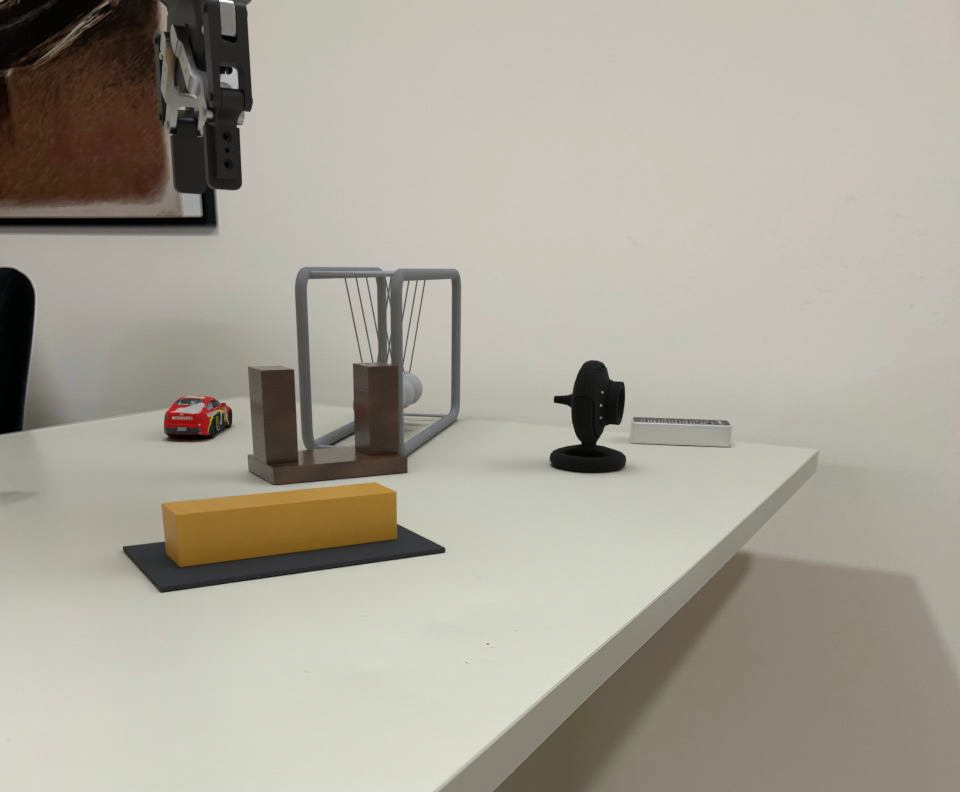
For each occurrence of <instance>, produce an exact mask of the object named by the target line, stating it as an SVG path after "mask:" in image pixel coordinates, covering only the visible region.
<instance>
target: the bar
mask: <svg viewBox="0 0 960 792" xmlns="http://www.w3.org/2000/svg"><path fill="white" fill-rule="evenodd" d="M397 498H398V496H397V491H396V490H394V489H392V488H389V487H388V486H385V485H382V484H381V483H378V482H375V481H373V482H364V483H363V482H362V483H353V484H343V485H334V486H325V487H324V486H323V487H312V488H303V489H302V488H301V489H293V490H282V491H272V492H263V493H252V494H251V493H250V494H242V495H241V494H240V495H231V496H230V495H229V496H221V497H210V498H201V499H191V500H190V499H189V500H181V501H168V502H162V503H161V506H160V507H161V515H162V525H163V535H164V542H165V546H166V554H167V555H168V556H169V557H170V558H171V559H172V560H173V561H174V562H175V563H176V564H177V565H178V566H179V567H188V566H196V565H204V564H211V563H219V562H227V561H235V560H242V559H250V558H258V557H265V556H273V555H281V554H288V553H296V552H304V551H311V550H319V549H327V548H334V547H342V546H350V545H357V544H365V543H373V542H380V541H388V540H396V539H397V524H398V507H397V506H398V504H397Z"/></svg>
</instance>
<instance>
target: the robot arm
mask: <svg viewBox="0 0 960 792" xmlns="http://www.w3.org/2000/svg"><path fill="white" fill-rule="evenodd" d="M153 1H159V2H160V3H161V4H163V5H164V6H165V8H166V11H167V14H166V31H165V30H154V33H153V37H152V43H153V47H154V48H153V49H154V61H155V63H154V65H155V79H156V95H157V96H156V97H157V110H158V112H157V120H158V122H159V123H158V124H159V125H160V127H164V129H165V132H166V135H169V141H170V142H169V143H170V155H171V171H172V185H173V189H174V190H175V192H177V193H178V194H187V195H202V194H204V193H205V192H206V191H207V186H208V188H210V189H211V190H219V191H238V190H240V189H241V187H242V186H243V173H242V170H243V169H242V157H241V156H242V152H241V151H242V149H241V129H240V127H238V126H241V127H242V126H243V125H244V121H245V117H246V115H245V114H246V113H245V112H247V113H250V112H251V111H252V109H253V105H254V99H253V98H254V97H253V90H252V88H253V87H252V72H251V71H252V69H251V55H250V54H251V53H250V40H249V37H250V36H249V23H248V22H249V20H248V16H249V12H248V8H247V6H248V5H249V4H250V3H251V2H252V1H253V0H153ZM183 107H184V109H180V108H183ZM206 123H209V124H206Z"/></svg>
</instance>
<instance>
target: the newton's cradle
mask: <svg viewBox="0 0 960 792" xmlns="http://www.w3.org/2000/svg"><path fill="white" fill-rule="evenodd" d="M362 278H364V279H365V281H366V286H367V290H368V291H367V292H368V297H369V301H370V307H371V311H372V317H373V322H374V326H375V333H376V337H377V358H376V362H383V363H387V364H388V361H389V356H390V364H392V365H397V366H398V400H399V454H402V455H405V456H408V455H409V454H411V453H412V452H413V451H415V450H416V449H418V448H419V447H420V446H421V445H423V444H425V442H428V440H430V439H431V438H433V437H434V436H435V435H437V434H438V433H440V432H441V431H442V430H444V429H445V428H446V427H448V426H450V425H451V424H452V423H454V422H455V421H456V420H457V419H458V417H459V414H460V407H461V358H462V357H461V354H462V353H461V352H462V351H461V349H462V347H461V346H462V345H461V344H462V341H461V340H462V338H461V337H462V280H461V274H460V272H459V270H458V269H456V268H398V269H396V270H383V269H382V268H381V267H378V266H377V267H375V266H373V267H372V266H303V267H301V268H300V269H299V270H298V272H297V274H296V278H295V283H294V302H295V324H296V326H295V327H296V343H297V345H296V346H297V347H296V348H297V363H298V364H297V366H298V367H297V368H298V383H299V384H298V386H299V387H298V388H299V407H300V409H299V410H300V428H301V431H300V432H301V439H302V443H303V446H304V448H305V450H314V449H327V448H340V447H351V446H350V445H349V446H348V445H332V444H334V443H336V442H339V441H340V440H342V439H344V438H345V437H347V436H349V435H351V434H353V433H355V427H354V420H353V421H350V422H349V423H347V424H345V425H343V426H342V425H341V427H338V428H336V429H335V430H332V431H330V432H328V433H326V434H324V435H322V436H320V437H317V438H316V439H315V437H314V428H313V427H314V425H313V405H312V404H313V403H312V380H311V379H312V378H311V356H310V335H309V334H310V333H309V332H310V331H309V311H308V309H309V307H308V282H309V280H327V279H328V280H329V279H330V280H331V279H344V284H345V289H346V293H347V298H348V304H349V308H350V313H351V318H352V322H353V328H354V332H355V338H356V343H357V349H358V353H359V357H360V363H364V361H363V357H362V351H361V346H360V341H359V337H358V332H357V327H356V321H355V316H354V312H353V306H352V301H351V296H350V291H349V287H348V281H347V279H355V284H356V287H357V288H356V289H357V294H358V297H359V298H358V299H359V303H360V308H361V314H362V319H363V324H364V329H365V332H366V338H367V343H368V348H369V353H370V358H371V359H370V360H371V363H375V362H374V358H373V357H374V356H373V353H372V348H371V343H370V342H371V341H370V338H369V332H368V327H367V322H366V317H365V311H364V306H363V302H362V297H361V292H360V286H359V280H358V279H362ZM368 278H374V279H375V282H376V303H377V305H376V306H377V307H376V309H377V313H376V314H377V321H376V315H375V311H374V306H373V305H374V304H373V300H372V295H371V289H370V285H369V280H368ZM387 278H389V283H388V281H387ZM435 280H436V281H437V280H451V353H450V354H451V365H450V366H451V367H450V369H451V370H450V375H451V376H450V377H451V379H450V381H451V382H450V386H451V387H450V410H449V413H447V414H444V413H443V414H441V413H418V412H404V410H405V409H406V408H408V407H409V406H411V405H414V404H416V403H417V402H418V401H419V400H420V399H421V397H422V396H423V384H422V381H421V380H420V378H419V377H418V376H417V375H415V374H413V373H411V371H412V366H413V365H412V364H413V359H414V353H415V346H416V341H417V336H418V329H419V323H420V318H421V317H420V316H421V310H422V305H423V298H424V292H425V286H426V282H427V281H435ZM412 281H415V286H414V292H413V299H412V303H411V304H412V305H411V310H410V316H409V322H408V328H407V333H406V341H405V346H404V338H403V337H404V332H403V329H404V327H403V325H404V324H403V322H404V316H405V311H406V306H407V305H406V304H407V298H408V293H409V286H410V282H412ZM418 281H423V286H422V292H421V298H420V304H419V310H418V316H417V322H416V326H415V327H416V328H415V334H414V339H413V346H412V353H411V356H410V357H411V358H410V363H409V370H405V367H404V364H405V359H406V353H407V347H408V342H409V341H408V340H409V336H410V335H409V334H410V328H411V323H412V317H413V312H414V311H413V310H414V307H415V306H414V305H415V299H416V294H417V289H418ZM404 282H407V285H406V290H405V296H404V303H403V288H404ZM388 304H389V307H390V308H389V309H390V311H389V312H390V335H389V334H388V325H387V324H388V320H387V319H388V317H387V313H388V310H387V309H388ZM352 410H353V411H354V399H353V400H352ZM404 417H416V418H417V417H419V418H440V419H438V420H437V421H435V422H434V423H432V424H431V425H430V426H427V427H426V428H425V429H423V430H421V431H420V432H419V433H417V434H416V435H414V436H413V437H411V438H410V439H408V440H407V441H405V436H404V435H405V434H404V433H405V431H404V420H405V419H404Z"/></svg>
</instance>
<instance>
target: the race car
mask: <svg viewBox="0 0 960 792" xmlns="http://www.w3.org/2000/svg"><path fill="white" fill-rule="evenodd" d="M163 418H164V419H163V433H164V435H166V436H167V437H169V438H176V437H177V436H178V435H193V436H194V435H200V436H201V435H202V436H203V435H204V437H205V438H211V439H212V438H215V436H216V433H218V432H219V431H220V430H222V429H223V428H225V427H226V428H230V427H232V425H233V410H232V408H231V407H230V406H228V405H227V402H220V401H219V400H218V399H216V398H214V397H212V396H206V395H187V396H182V397H179V398H178V399H177V400H175V402H173V403H172V405H171V406H170V407H169V408H168V410H166V412H164V417H163Z"/></svg>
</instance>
